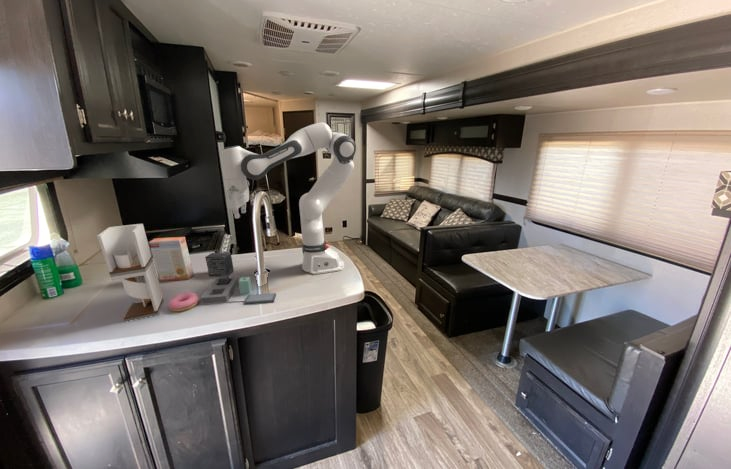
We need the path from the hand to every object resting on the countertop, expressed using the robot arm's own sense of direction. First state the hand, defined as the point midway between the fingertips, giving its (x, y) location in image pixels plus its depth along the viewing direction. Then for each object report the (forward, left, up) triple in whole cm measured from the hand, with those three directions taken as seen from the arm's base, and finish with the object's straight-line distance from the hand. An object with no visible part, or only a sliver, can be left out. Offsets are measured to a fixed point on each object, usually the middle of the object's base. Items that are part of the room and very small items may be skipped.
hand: (240, 215), depth 131 cm
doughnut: (+22, +19, -34) cm, 45 cm away
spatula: (-5, +19, -33) cm, 38 cm away
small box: (+17, -11, -33) cm, 39 cm away
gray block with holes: (+10, +10, -33) cm, 36 cm away
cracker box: (+38, -9, -33) cm, 52 cm away
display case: (+36, +21, -33) cm, 53 cm away
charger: (-1, +11, -33) cm, 35 cm away
